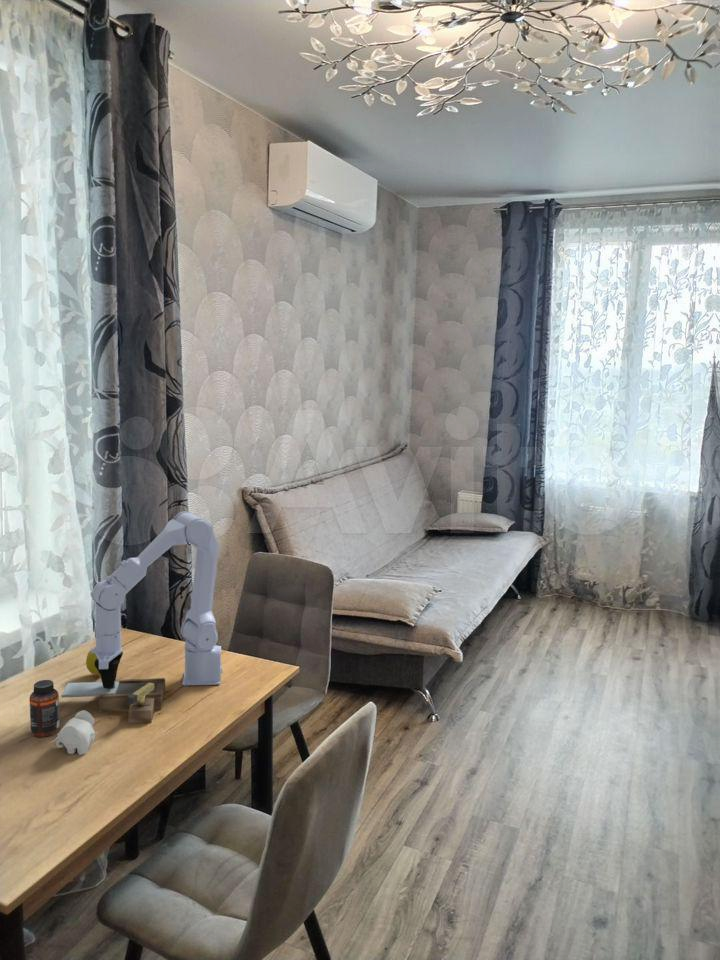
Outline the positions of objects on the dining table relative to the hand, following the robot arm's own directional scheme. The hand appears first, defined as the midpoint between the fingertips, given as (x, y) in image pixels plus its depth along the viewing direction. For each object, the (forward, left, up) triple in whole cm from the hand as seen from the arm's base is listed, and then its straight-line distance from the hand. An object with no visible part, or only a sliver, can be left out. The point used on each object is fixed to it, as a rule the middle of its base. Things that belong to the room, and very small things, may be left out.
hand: (109, 685), depth 176 cm
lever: (-8, +9, -1) cm, 12 cm away
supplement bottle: (+11, +13, -4) cm, 18 cm away
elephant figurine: (+3, +21, -5) cm, 22 cm away
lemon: (+5, -15, -4) cm, 17 cm away
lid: (+4, 0, -1) cm, 4 cm away
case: (-6, +3, -4) cm, 8 cm away
